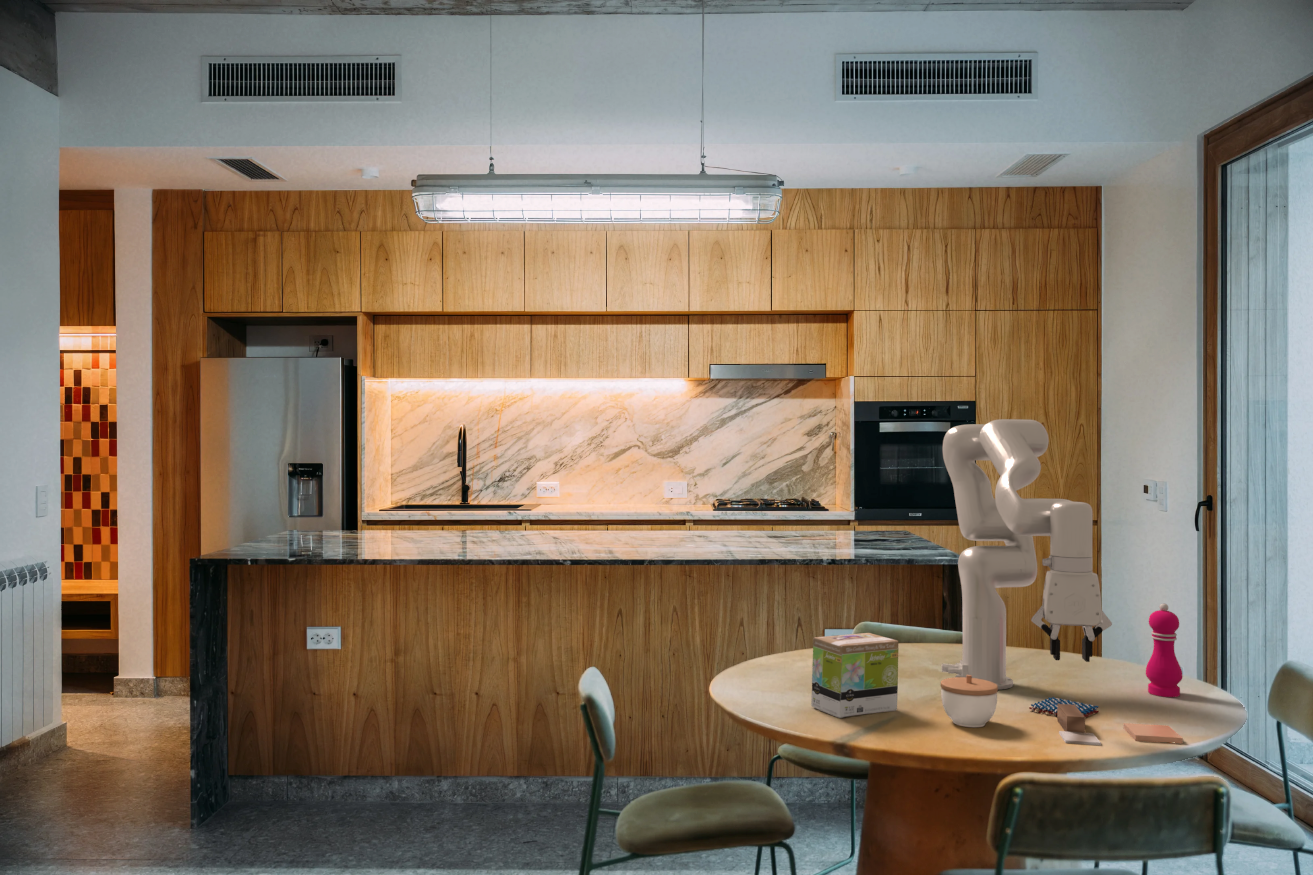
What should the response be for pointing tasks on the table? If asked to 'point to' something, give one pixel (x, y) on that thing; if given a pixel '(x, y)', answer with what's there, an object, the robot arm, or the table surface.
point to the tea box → (854, 674)
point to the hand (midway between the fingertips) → (1071, 658)
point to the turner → (1074, 726)
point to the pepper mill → (1164, 654)
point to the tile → (1152, 733)
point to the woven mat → (1051, 703)
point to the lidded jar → (969, 700)
